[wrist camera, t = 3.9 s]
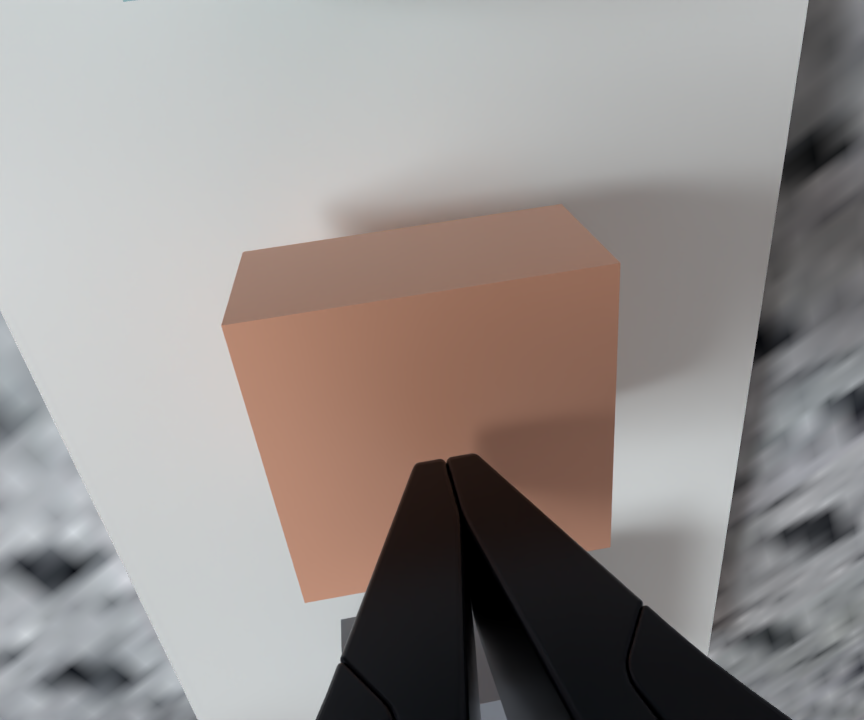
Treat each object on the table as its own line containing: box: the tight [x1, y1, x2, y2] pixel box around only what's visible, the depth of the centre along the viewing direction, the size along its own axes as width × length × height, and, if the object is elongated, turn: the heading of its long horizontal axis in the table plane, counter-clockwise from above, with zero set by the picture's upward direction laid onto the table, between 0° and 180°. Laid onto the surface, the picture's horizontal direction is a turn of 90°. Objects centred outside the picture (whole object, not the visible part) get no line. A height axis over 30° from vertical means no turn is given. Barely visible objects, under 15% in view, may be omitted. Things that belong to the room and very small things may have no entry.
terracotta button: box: [221, 204, 620, 603], centre depth 11 cm, size 5×5×2 cm
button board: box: [0, 0, 809, 720], centre depth 14 cm, size 26×14×2 cm, turn 6°
